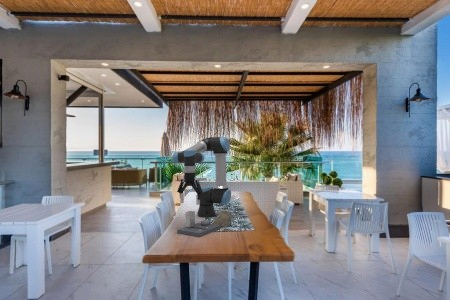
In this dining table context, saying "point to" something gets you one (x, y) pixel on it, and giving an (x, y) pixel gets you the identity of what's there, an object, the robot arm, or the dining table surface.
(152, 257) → the dining table surface
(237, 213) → the dining table surface
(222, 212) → the fossil tooth
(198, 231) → the console
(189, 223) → the fader
